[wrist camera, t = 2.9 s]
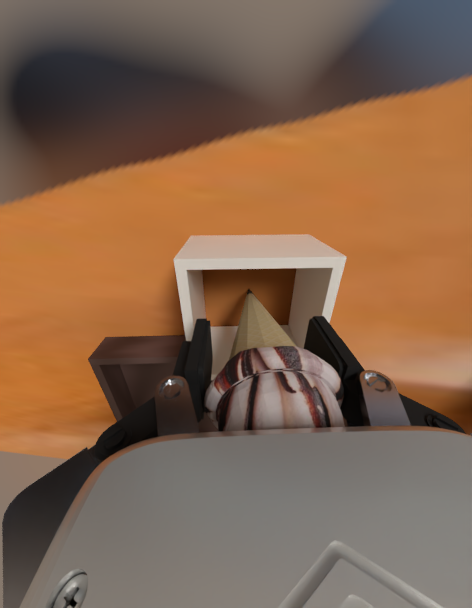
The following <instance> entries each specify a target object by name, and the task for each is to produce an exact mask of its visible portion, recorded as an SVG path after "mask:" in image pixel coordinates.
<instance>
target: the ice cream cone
mask: <svg viewBox="0 0 472 608" xmlns="http://www.w3.org/2000/svg"><path fill="white" fill-rule="evenodd" d="M343 398H344V388H343V385H342V382H341V379H340V376H339V374H338V373H337V372H336V370H335V369H334V368H333V367H332V366H331V365H329V364H328V363H327V362H325V361H324V360H322V359H321V358H319V357H318V356H316V355H315V354H313V353H311V352H310V351H308V350H305V349H303V348H300V347H297V346H296V345H295V344H294V342H293V341H292V340H291V339H290V338H289V336H288V335H287V334H286V333H285V332H284V330H283V329H282V328H281V327H280V326H279V324H278V323H277V322H276V321H275V320H274V318H273V317H272V316H271V315H270V314H269V312H268V311H267V310H266V309H265V308H264V306H263V305H262V304H261V303H260V302H259V300H258V299H257V298H256V297H255V296H254V294H253V293H252V292H251V291H250V290H249V289H248V292H247V296H246V299H245V303H244V307H243V310H242V314H241V318H240V321H239V325H238V328H237V332H236V336H235V339H234V343H233V347H232V350H231V354H230V358H229V361H228V362H227V363H226V364H225V365H224V367H223V368H222V369H221V370H220V372H219V373H218V374H217V376H216V377H215V378H214V380H213V381H212V382H211V384H210V385H209V387H208V389H207V391H206V394H205V398H204V405H205V412H206V415H207V416H208V417H209V418H210V420H211V421H212V423H213V424H214V425H215V426H216V428H217V429H218V432H222V431H246V430H271V429H298V428H327V427H345V425H344V420H343V415H342V413H341V410H340V407H341V404H342V401H343Z"/></svg>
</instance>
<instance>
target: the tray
mask: <svg viewBox="0 0 472 608" xmlns="http://www.w3.org/2000/svg"><path fill="white" fill-rule="evenodd" d="M183 341H186V337H185V335H182V336H139V337H106V338H105V339H104V340H103V341H102V343H101V344H100V345H99V346H98V347H97V349H96V350H95V351H94V352H93V354H92V355H91V356H90V357H89V359H88V360H89V362H90V364H91V366H92V369H93V371H94V373H95V375H96V377H97V379H98V381H99V384H100V386H101V388H102V390H103V392H104V394H105V396H106V399H107V401H108V403H109V405H110V407H111V409H112V411H113V413H114V416H115V418H116V420H117V422H118V421H119V420H121V419H122V418H124V417H125V416H127V415H128V414H130V413H131V412H132V411H134V410H135V409H137V408H138V407H140V406H141V405H143V404H144V403H146V402H147V401H148V400H150V399H151V398H153V397H154V396H155V388H156V386H157V385H158V383H159V382H160V381H162V380H163V379H165V378H167V377H169V376H172V375H173V372H174V368H175V365H176V362H177V358H178V355H179V351H180V348H181V345H182V342H183ZM212 381H213V380H211V382H212ZM198 426H199V430H200V433H203V432H218V429H217V428H216V426H215V425H214V424H213V423H212V421H211V420H210V418H209V417H208V416H207V415H206V412H204V419H202V420H201V421H200V422H199V423H198Z"/></svg>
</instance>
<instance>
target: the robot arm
mask: <svg viewBox="0 0 472 608" xmlns="http://www.w3.org/2000/svg"><path fill="white" fill-rule="evenodd" d="M304 349H305V350H308V351H310V352H311V353H313V354H315V355H316V356H318V357H319V358H321V359H322V360H324V361H325V362H327V363H328V364H329V365H331V366H332V367H333V368H334V369H335V370H336V372H337V373H338V374H339V376H340V379H341V382H342V385H343V388H344V398H343V401H342V404H341V407H340V410H341V413H342V415H343V420H344V425H345V427H327V428H298V429H271V430H246V431H222V432H203V433H200V430H199V426H198V423H199V422H200V421H201V420H202V419H204V412H205V405H204V398H205V394H206V391H207V389H208V387H209V385H210V384H211V374H212V363H213V353H212V340H211V327H210V321H207V320H206V319H197V320H196V324H195V328H194V332H193V336H192V340H191V341H183V342H182V345H181V348H180V351H179V355H178V358H177V362H176V365H175V368H174V372H173V375H172V376H169V377H167V378H165V379H163V380H162V381H160V382H159V383H158V385H157V386H156V388H155V396H154V397H153V398H151V399H150V400H148V401H147V402H146V403H144V404H143V405H141V406H140V407H138V408H137V409H135V410H134V411H132V412H131V413H130V414H128V415H127V416H125V417H124V418H122V419H121V420H119V421H118V422H116V423H115V424H114V425H112V426H111V427H109V428H108V429H107V430H106V431H104V432H103V433H102V435H101V436H100V437H99V439H98V441H97V442H96V445H94V446H93V447H91V448H90V449H87V447H86V448H85V449H83V450H82V451H80V452H79V453H77V454H76V455H74V456H73V457H71V458H70V459H68V460H67V461H66V462H64V463H62V464H61V465H60V466H58V467H57V468H55V469H53V470H52V471H51V472H49V473H47V474H46V475H45V476H43V477H41V478H40V479H38V480H37V481H35V482H34V483H32V484H31V485H29V486H28V487H27V488H26V489H24V490H23V491H22V492H21V493H19V494H18V495H17V496H16V497H15V499H14V500H13V501H12V502H11V503H10V504H9V506H8V508H7V510H6V512H5V513H4V518H3V522H2V531H3V532H2V534H3V535H2V536H3V608H472V434H471V433H470V434H469V435H467V434H466V433H465V432H464V430H463V429H462V428H461V427H460V426H459V425H458V424H456V423H455V422H454V421H452V420H451V419H449V418H447V417H446V416H444V415H442V414H440V413H438V412H436V411H434V410H432V409H430V408H428V407H426V406H424V405H422V404H419V403H417V402H415V401H413V400H411V399H409V398H407V397H405V396H403V395H401V394H399V393H398V391H397V388H396V386H395V384H394V383H393V381H392V380H391V379H390V378H388V377H387V376H385V375H384V374H382V373H380V372H377V371H373V370H364V369H363V367H362V366H361V365H360V363H359V362H358V361H357V359H356V358H355V357H354V355H353V354H352V353H351V351H350V350H349V348H348V347H347V346H346V344H345V343H344V342H343V340H342V339H341V338H340V337H339V336H338V335H337V333H336V332H335V331H334V329H333V328H332V327H331V325H330V324H329V323H328V321H327V320H326V318H325V317H324V316H313V317H312V319H310V320H309V324H308V329H307V334H306V339H305V344H304Z"/></svg>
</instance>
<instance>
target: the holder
mask: <svg viewBox="0 0 472 608" xmlns="http://www.w3.org/2000/svg"><path fill="white" fill-rule="evenodd" d="M345 261H346V256H344V255H343V254H341V253H339V252H338V251H336V250H334V249H333V248H331V247H329V246H327V245H326V244H324V243H322V242H321V241H319V240H317V239H316V238H314V237H312V236H311V235H213V236H191V237H190V238H189V239H188V241H187V242H186V243H185V245H184V246H183V247H182V249H181V250H180V251H179V253H178V254H177V255H176V257H175V258H174V265H175V272H176V278H177V285H178V291H179V298H180V304H181V311H182V318H183V324H184V331H185V337H186V341H191V340H192V336H193V332H194V328H195V324H196V320H197V319H206V311H205V299H204V288H203V276H202V270H211V269H279V268H297V269H296V275H295V282H294V289H293V296H292V303H291V310H290V317H289V324H288V325H279V326H280V327H281V328H282V329H283V330H284V332H285V333H286V334H287V335H288V336H289V338H290V339H291V340H292V341H293V342H294V344H295V345H296V346H297V347H300V348H303V349H304V344H305V339H306V334H307V329H308V324H309V320H310V319H312V317H313V316H324V317H325V318H326V320H327V321H328V323H330V319H331V315H332V311H333V308H334V304H335V300H336V296H337V292H338V288H339V284H340V280H341V277H342V273H343V269H344V265H345ZM237 328H238V326H216V327H211V340H212V353H213V363H212V374H211V380H214V378H215V377H216V376H217V374H218V373H219V372H220V370H221V369H222V368H223V367H224V365H225V364H226V363H227V362H228V361H229V358H230V354H231V350H232V347H233V343H234V339H235V336H236V332H237Z"/></svg>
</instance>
